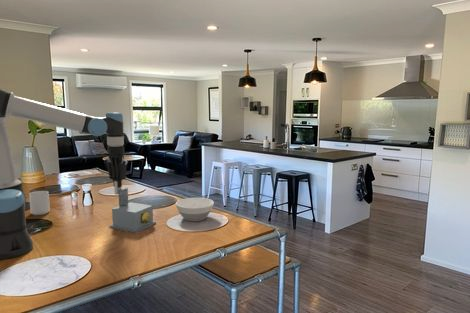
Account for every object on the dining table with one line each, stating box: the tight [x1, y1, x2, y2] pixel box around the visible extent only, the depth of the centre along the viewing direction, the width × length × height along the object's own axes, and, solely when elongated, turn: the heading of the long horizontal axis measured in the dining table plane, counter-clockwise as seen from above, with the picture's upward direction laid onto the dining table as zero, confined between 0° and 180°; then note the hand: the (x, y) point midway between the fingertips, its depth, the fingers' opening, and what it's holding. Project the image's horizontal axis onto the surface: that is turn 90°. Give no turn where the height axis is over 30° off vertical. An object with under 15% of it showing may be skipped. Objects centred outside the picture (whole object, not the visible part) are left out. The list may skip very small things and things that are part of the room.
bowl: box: [175, 197, 215, 222], centre depth 171 cm, size 19×19×8 cm
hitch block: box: [109, 201, 157, 234], centre depth 160 cm, size 16×14×9 cm
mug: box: [28, 190, 51, 216], centre depth 179 cm, size 12×9×11 cm
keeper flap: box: [118, 187, 129, 207], centre depth 161 cm, size 8×5×1 cm
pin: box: [141, 212, 151, 223], centre depth 160 cm, size 18×5×5 cm, turn 64°
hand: (118, 193), depth 162 cm, fingers closed
